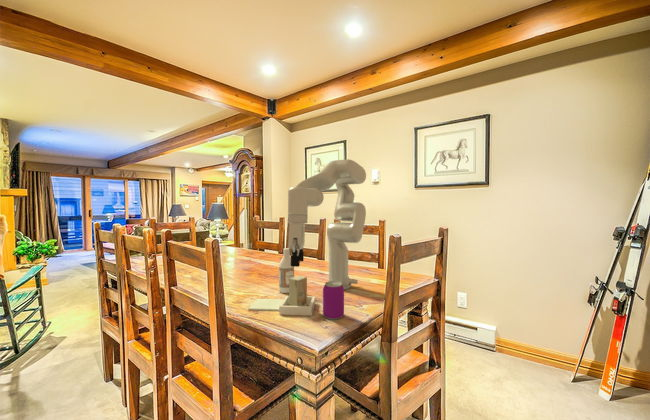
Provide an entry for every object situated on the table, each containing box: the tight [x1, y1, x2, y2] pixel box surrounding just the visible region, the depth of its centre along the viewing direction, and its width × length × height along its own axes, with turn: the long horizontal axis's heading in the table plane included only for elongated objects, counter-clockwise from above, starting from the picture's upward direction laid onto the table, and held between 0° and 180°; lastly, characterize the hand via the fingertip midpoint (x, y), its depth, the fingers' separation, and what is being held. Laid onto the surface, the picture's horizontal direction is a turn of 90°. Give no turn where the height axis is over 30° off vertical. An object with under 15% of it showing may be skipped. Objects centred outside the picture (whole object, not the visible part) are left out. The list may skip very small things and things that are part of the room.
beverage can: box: [322, 280, 345, 321], centre depth 101 cm, size 8×8×12 cm
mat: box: [248, 298, 284, 312], centre depth 112 cm, size 12×11×1 cm
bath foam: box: [278, 247, 295, 294], centre depth 129 cm, size 7×7×20 cm
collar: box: [278, 295, 316, 316], centre depth 108 cm, size 12×12×3 cm
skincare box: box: [288, 275, 308, 306], centre depth 108 cm, size 6×4×12 cm
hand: (297, 263), depth 107 cm, fingers open, 9 cm apart
